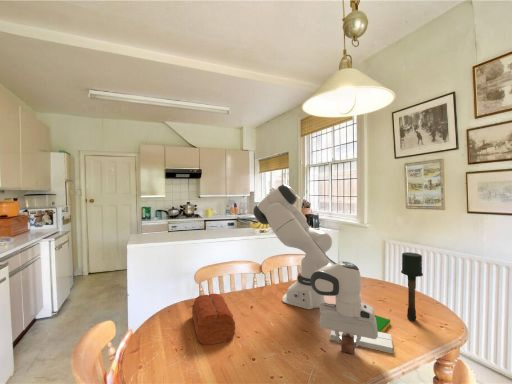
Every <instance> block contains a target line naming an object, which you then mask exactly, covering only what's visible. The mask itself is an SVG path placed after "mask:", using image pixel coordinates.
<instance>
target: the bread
mask: <svg viewBox="0 0 512 384" xmlns="http://www.w3.org/2000/svg"><path fill="white" fill-rule="evenodd" d="M191 308H192V309H191V315H192V320H193V323H194V324H193V325H194V329H195V334H196V337H197V340H198V341H199V343H201V344H202V345H203V346H205V345H207V346H209V345H216V344H219V343H221V344H222V343H225V342H228V341H231V340H233V338H234V337H235V334H236V321H235V319H234V315H233V314H232V312H231V309H229V307H228V304H227V302H226V300H225V299H224V297H223V295H220V294H218V293H209V294H201V295H198V296H197V297H196V298H195V299H194V301H193V304H192V307H191Z"/></svg>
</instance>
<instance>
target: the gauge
mask: <svg viewBox="0 0 512 384" xmlns="http://www.w3.org/2000/svg"><path fill="white" fill-rule="evenodd" d="M353 341H354V335H352V334H348V333H342V337H341V343H340V344H341V352H342V353H343V352H344V353H348V354H352V355H353V354H354V350H355V346H353Z"/></svg>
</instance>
